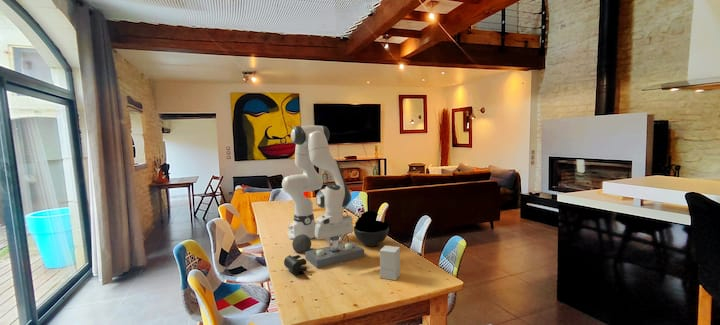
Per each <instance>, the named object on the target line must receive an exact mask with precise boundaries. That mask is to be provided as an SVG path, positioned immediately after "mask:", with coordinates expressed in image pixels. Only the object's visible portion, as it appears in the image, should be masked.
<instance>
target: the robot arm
mask: <svg viewBox="0 0 720 325" xmlns="http://www.w3.org/2000/svg"><path fill="white" fill-rule="evenodd" d="M330 134H331V133H330V130H329V129H328V127H327V126H325V125H315V124H313V125H312V124H309V125H297V126H293V127H292V129H291V133H290V138H291V141H292V143H293V144H295V148H294V149H295V150H294V164H295V166H296V168H298V169H299V170H301V171H303V172H302V173H301V174H298V173H297V174H291V175H288V176H285V177H284V178H282V180H281V181H282V182H281V187H282V188H281V189H283V192H284V193H287V194H288V195H289V196H290V197H291V199H292V201H293V206H294V207H293V208H294V213H293V220H292V222H290V223H289V224H290V225H289V226H288V230H286V234H287V236H288V239H289V240H294V238H295V237H296V236H298V235H300V234H304V235H307V236H308V237H309V238H310V240H311V239H313V238H316V239H317V240H323V239H324V240H326V241H327V247H329V246H332V242H331V240H330V237H334V236H339V244H343V243H342V240H343V239H344V236H345V235H349V234H353V233H354V225H353V216H351V214H347V215H344V210H343V207H347V206H348V205H349V203H350V202H351V200H352V194H351V192H350V191H349V188H348V185H347V183H346V180H345V178H344V174H343V172H342V170H341V167H340V164H339V162H338V160H337V159H336V158H334V157H333V155H332V154H331V152H330V146H329V143H328V141H329V139H330ZM315 167H316V168H319V169H323V170H325V171H327V172H329V173H330V174H331V175H332V176H333V179H334V184H330V183H329V184H328V185H326V186H325V187H324V188H323V189H322V187H323V184H324V179H323V176H322V175H321V174H320V173H318V172H317V170H316V168H315ZM317 190H318V191H317ZM314 191H317V193H316V194H315V204H316V206H318V207H319V208H321V209H324V210H325V211H324V213H323V214H321V215H319V216H317V217H316V219H315V218H314V217H315V216H314V206H313V201H312V199H311V198H309V197H306V196H305V194H304V193H305V192H314ZM314 219H315V220H314Z"/></svg>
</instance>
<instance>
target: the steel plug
mask: <svg viewBox="0 0 720 325" xmlns="http://www.w3.org/2000/svg"><path fill="white" fill-rule="evenodd" d="M339 238H340V236H334V237H330V239H329V241H331V242H332V246H331V252H332V253H334V252H339Z"/></svg>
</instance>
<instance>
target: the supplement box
mask: <svg viewBox="0 0 720 325" xmlns="http://www.w3.org/2000/svg"><path fill="white" fill-rule="evenodd" d="M379 272H380V273H379V274H380V276H379V278H380V279H386V280H392V281H396V280H397V279H398V278H399V277H400V275H401V247H400V246H394V245H384V246H383V247H382V248H381V249H380V250H379Z"/></svg>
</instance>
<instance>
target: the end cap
mask: <svg viewBox="0 0 720 325" xmlns="http://www.w3.org/2000/svg"><path fill="white" fill-rule="evenodd" d="M300 258H301V259H300ZM283 264H284V266H285V268H287V269H288V270H289V271H290V272H292V274H293V275H295V276H297V277H298V276H302V275H305V274H306V273H305V271H307V270H308V268H307V266H305V265H307V260H306V259H305V258H302V256H301V255H299V254H298V255H297V254H296V255H290V254H289V255H288V256H286V257H285V259H284V260H283ZM303 266H304V267H303Z"/></svg>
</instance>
